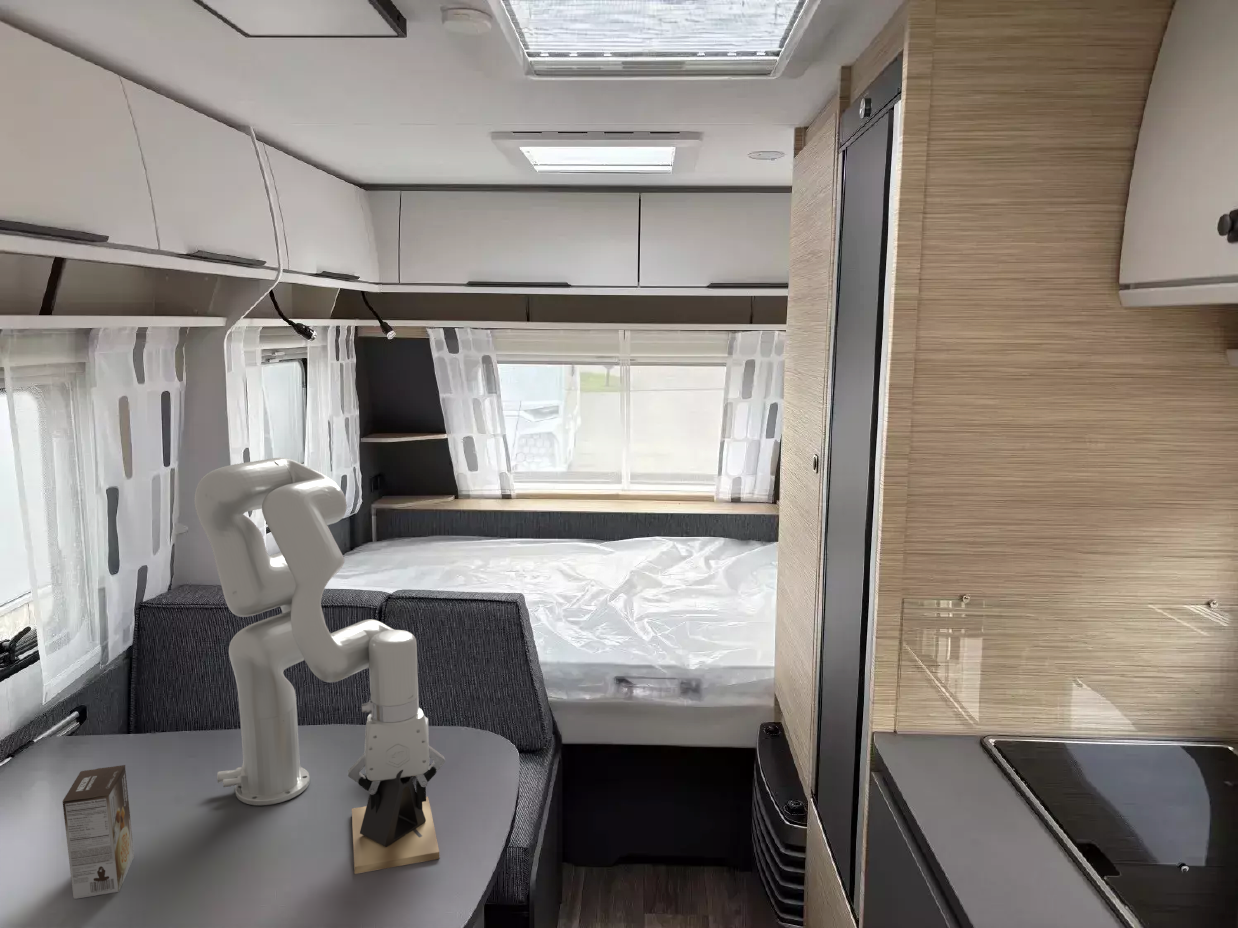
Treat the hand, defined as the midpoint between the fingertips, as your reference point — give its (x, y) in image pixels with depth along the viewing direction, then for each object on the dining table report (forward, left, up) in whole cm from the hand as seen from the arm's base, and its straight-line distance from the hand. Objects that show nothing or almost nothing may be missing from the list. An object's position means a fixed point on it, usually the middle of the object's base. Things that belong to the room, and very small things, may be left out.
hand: (398, 807), depth 145 cm
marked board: (-1, 0, -5) cm, 5 cm away
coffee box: (-44, +2, -5) cm, 44 cm away
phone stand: (-1, 0, -4) cm, 4 cm away
